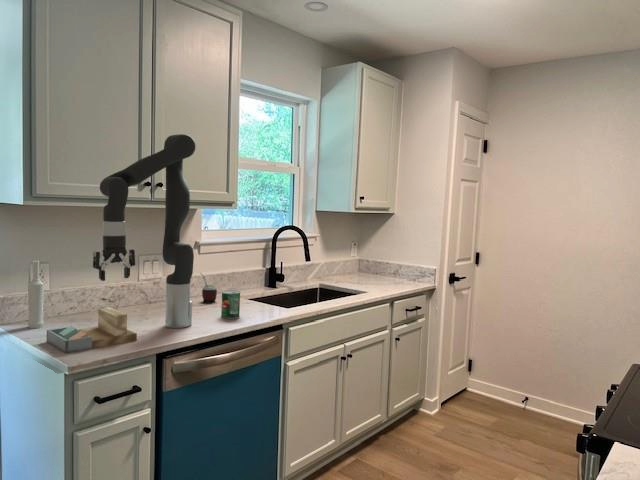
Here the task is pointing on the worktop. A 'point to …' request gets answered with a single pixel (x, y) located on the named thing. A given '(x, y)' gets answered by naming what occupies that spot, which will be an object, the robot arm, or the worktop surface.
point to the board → (107, 337)
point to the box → (68, 341)
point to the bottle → (35, 299)
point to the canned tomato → (230, 304)
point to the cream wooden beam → (112, 321)
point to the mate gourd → (209, 292)
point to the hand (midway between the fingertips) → (114, 279)
